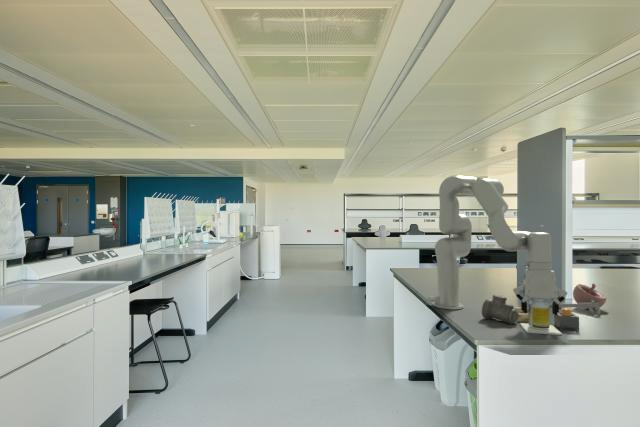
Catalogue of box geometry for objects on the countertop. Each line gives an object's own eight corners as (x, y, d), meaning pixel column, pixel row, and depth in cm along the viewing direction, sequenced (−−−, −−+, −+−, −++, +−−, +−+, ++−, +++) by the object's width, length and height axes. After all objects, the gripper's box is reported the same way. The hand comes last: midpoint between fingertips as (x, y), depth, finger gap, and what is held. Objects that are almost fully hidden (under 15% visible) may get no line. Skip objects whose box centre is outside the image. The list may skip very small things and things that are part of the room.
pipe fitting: (478, 318, 146) (482, 293, 146) (489, 316, 151) (493, 292, 150) (508, 329, 136) (513, 302, 136) (519, 327, 141) (523, 301, 141)
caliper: (600, 316, 151) (600, 300, 151) (599, 316, 151) (598, 301, 151) (547, 305, 169) (547, 292, 169) (546, 306, 168) (546, 292, 168)
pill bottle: (552, 331, 129) (552, 298, 129) (532, 329, 130) (532, 297, 130) (544, 325, 135) (544, 294, 135) (525, 324, 136) (525, 293, 136)
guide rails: (518, 321, 143) (518, 313, 143) (512, 314, 153) (512, 307, 153) (547, 323, 140) (547, 315, 140) (538, 316, 151) (538, 308, 151)
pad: (526, 332, 129) (526, 330, 129) (519, 324, 139) (519, 322, 139) (562, 335, 126) (562, 333, 126) (552, 326, 136) (552, 325, 136)
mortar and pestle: (602, 313, 154) (602, 286, 154) (569, 308, 163) (569, 282, 163) (609, 309, 162) (609, 283, 162) (577, 304, 171) (577, 279, 171)
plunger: (563, 323, 133) (563, 309, 133) (560, 321, 136) (560, 307, 136) (572, 324, 132) (572, 310, 132) (569, 321, 135) (569, 308, 135)
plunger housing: (559, 329, 132) (559, 315, 132) (554, 325, 138) (554, 311, 138) (579, 331, 131) (579, 317, 131) (572, 326, 136) (572, 312, 136)
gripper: (515, 266, 131) (515, 314, 131) (570, 268, 126) (571, 318, 126) (510, 264, 139) (511, 309, 138) (562, 265, 134) (563, 312, 134)
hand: (539, 313), depth 132 cm, fingers open, 9 cm apart
